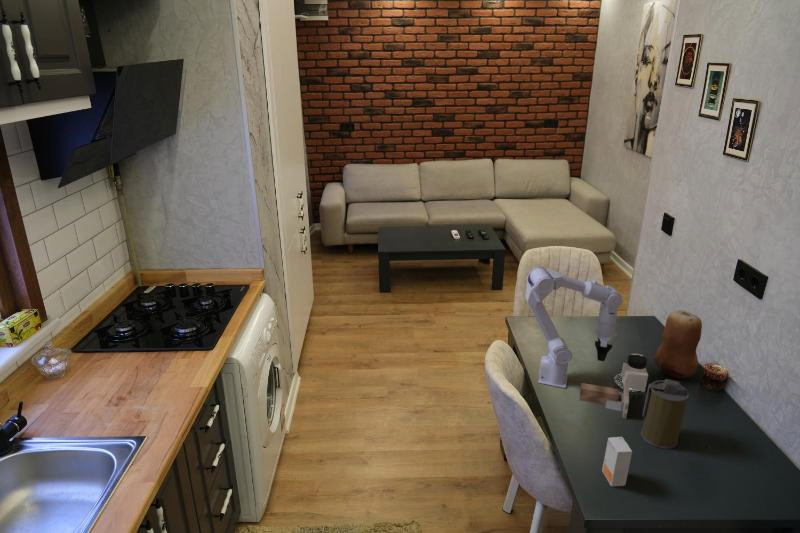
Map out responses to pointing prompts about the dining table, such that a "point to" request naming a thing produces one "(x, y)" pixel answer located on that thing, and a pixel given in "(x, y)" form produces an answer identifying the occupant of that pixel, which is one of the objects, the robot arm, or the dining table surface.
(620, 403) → the bracket
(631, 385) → the medicine bottle
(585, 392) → the brown wooden block
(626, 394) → the wall plate
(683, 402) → the canister
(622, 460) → the skincare box
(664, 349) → the butternut squash
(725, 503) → the dining table surface
